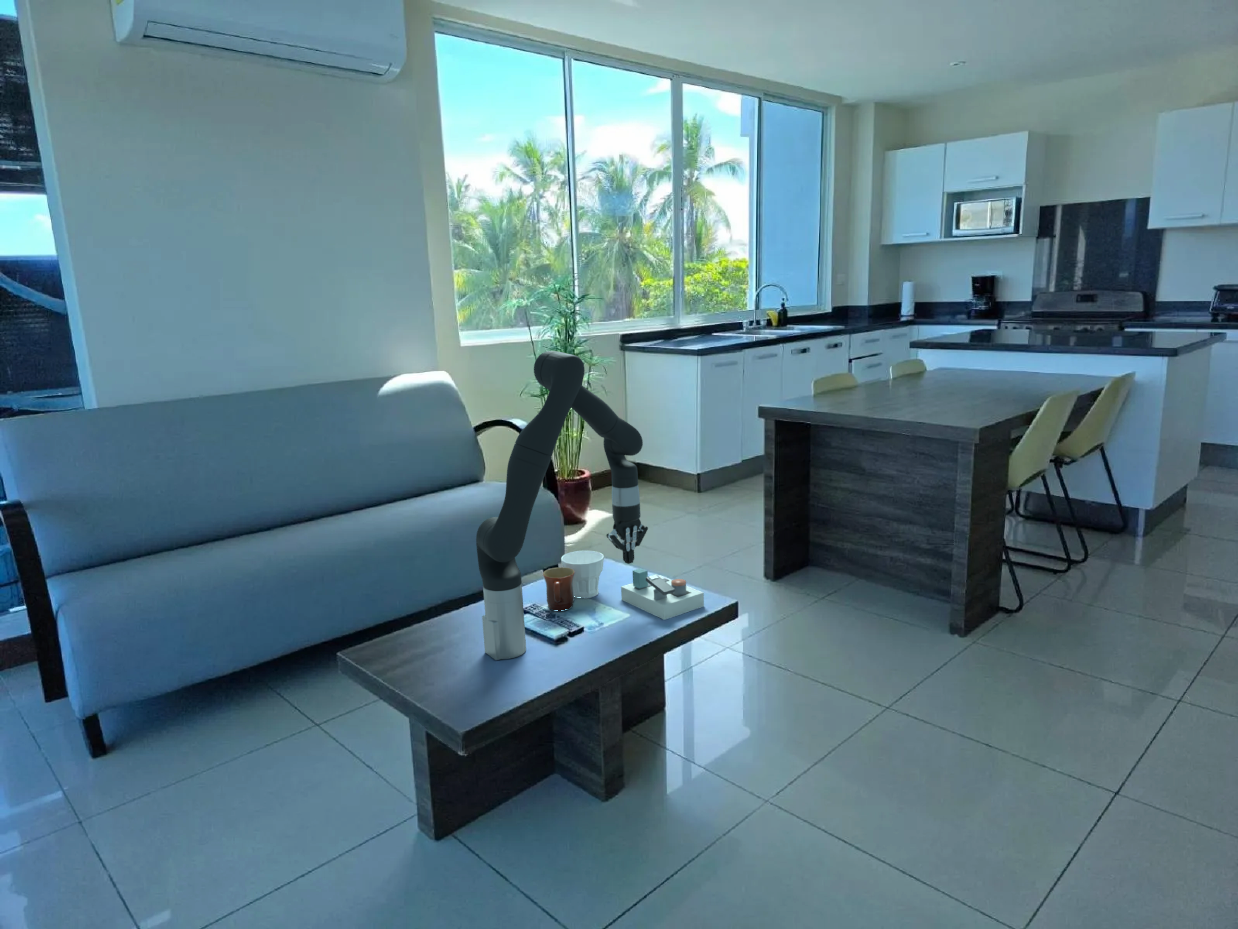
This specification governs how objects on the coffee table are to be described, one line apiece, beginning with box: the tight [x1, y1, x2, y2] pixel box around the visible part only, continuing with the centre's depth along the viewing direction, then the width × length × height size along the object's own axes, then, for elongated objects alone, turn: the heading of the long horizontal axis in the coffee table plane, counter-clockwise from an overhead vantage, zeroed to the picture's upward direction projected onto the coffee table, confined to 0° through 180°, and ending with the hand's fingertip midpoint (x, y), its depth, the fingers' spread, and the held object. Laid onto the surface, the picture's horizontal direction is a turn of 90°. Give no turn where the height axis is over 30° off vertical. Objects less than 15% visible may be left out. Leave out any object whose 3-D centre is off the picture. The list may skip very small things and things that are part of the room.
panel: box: [620, 574, 705, 621], centre depth 219 cm, size 14×19×7 cm
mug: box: [542, 566, 575, 612], centre depth 217 cm, size 12×9×10 cm
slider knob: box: [632, 567, 649, 589], centre depth 220 cm, size 3×3×4 cm
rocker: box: [646, 574, 675, 595], centre depth 211 cm, size 4×8×1 cm, turn 36°
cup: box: [560, 550, 605, 599], centre depth 228 cm, size 12×12×11 cm
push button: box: [671, 578, 687, 597], centre depth 216 cm, size 4×4×5 cm
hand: (628, 562), depth 217 cm, fingers closed
